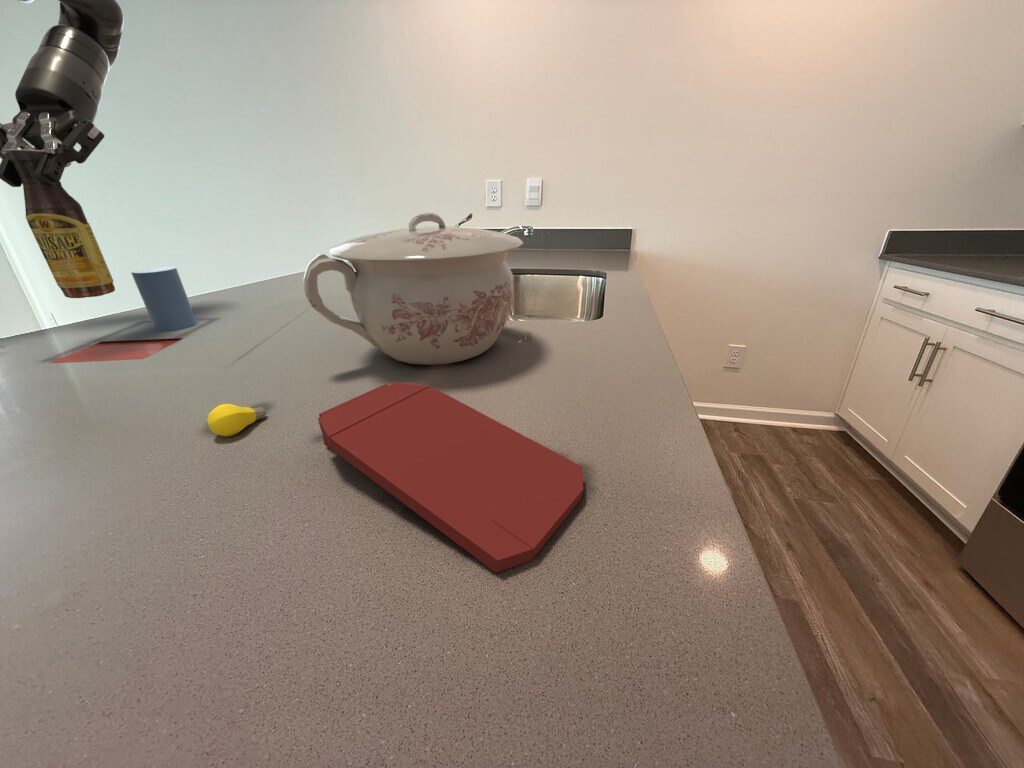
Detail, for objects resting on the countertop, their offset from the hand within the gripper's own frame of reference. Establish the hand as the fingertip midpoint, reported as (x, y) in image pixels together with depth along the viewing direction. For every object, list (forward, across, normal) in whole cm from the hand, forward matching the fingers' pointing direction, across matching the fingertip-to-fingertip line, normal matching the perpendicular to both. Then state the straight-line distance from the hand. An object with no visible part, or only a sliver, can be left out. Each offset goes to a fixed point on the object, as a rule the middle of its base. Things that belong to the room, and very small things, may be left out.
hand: (27, 181), depth 55 cm
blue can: (+9, +2, +27) cm, 28 cm away
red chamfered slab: (+43, +56, -7) cm, 71 cm away
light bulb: (+36, +33, 0) cm, 49 cm away
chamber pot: (+21, +53, +16) cm, 60 cm away
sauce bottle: (+10, 0, +13) cm, 16 cm away
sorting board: (+14, 0, +23) cm, 27 cm away
